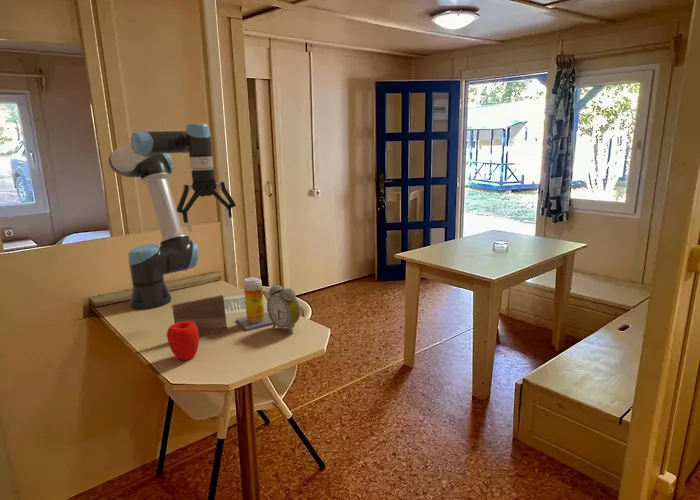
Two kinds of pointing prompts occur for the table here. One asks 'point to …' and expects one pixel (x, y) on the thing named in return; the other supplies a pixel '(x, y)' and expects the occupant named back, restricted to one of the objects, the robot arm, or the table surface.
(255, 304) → the yellow pill bottle
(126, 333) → the table surface
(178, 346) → the apple
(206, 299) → the screen
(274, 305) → the alarm clock
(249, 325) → the coaster
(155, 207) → the robot arm
